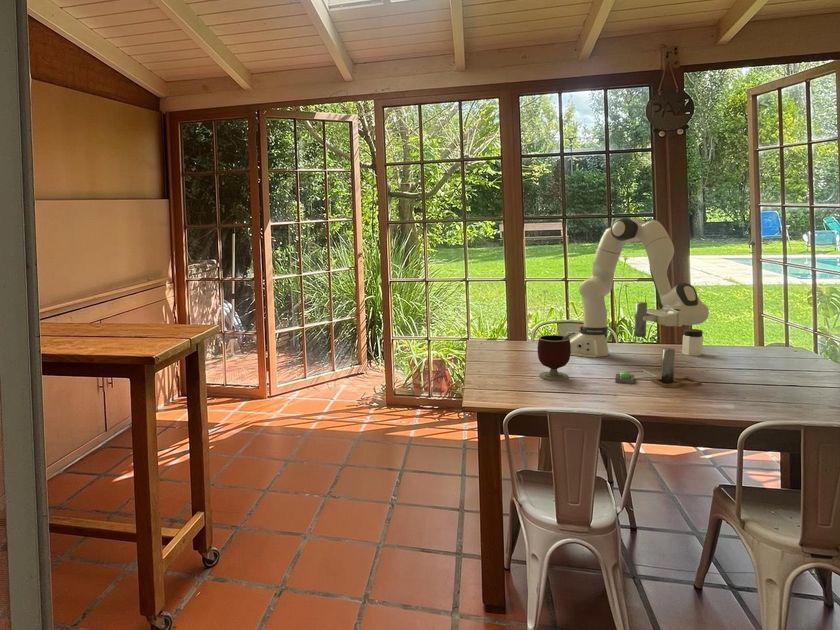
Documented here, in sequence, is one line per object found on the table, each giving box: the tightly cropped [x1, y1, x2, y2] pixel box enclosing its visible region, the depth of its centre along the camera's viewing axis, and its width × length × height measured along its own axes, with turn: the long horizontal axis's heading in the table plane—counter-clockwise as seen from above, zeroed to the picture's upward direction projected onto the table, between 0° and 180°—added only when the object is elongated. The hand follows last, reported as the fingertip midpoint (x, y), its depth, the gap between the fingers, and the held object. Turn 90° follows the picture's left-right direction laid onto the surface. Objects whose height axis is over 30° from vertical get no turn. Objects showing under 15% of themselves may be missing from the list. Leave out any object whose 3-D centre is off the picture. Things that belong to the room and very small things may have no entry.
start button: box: [619, 371, 631, 378], centre depth 217 cm, size 4×4×4 cm
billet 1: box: [634, 301, 648, 338], centre depth 222 cm, size 4×4×14 cm
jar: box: [681, 328, 704, 357], centre depth 262 cm, size 9×8×12 cm
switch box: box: [614, 373, 635, 385], centre depth 217 cm, size 7×7×3 cm
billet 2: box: [660, 347, 676, 384], centre depth 211 cm, size 4×4×14 cm
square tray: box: [619, 369, 659, 380], centre depth 226 cm, size 11×11×2 cm
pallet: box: [650, 375, 703, 389], centre depth 212 cm, size 16×9×2 cm, turn 97°
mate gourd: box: [537, 331, 576, 382], centre depth 229 cm, size 16×14×20 cm
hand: (638, 317), depth 222 cm, fingers closed on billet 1, 4 cm apart
